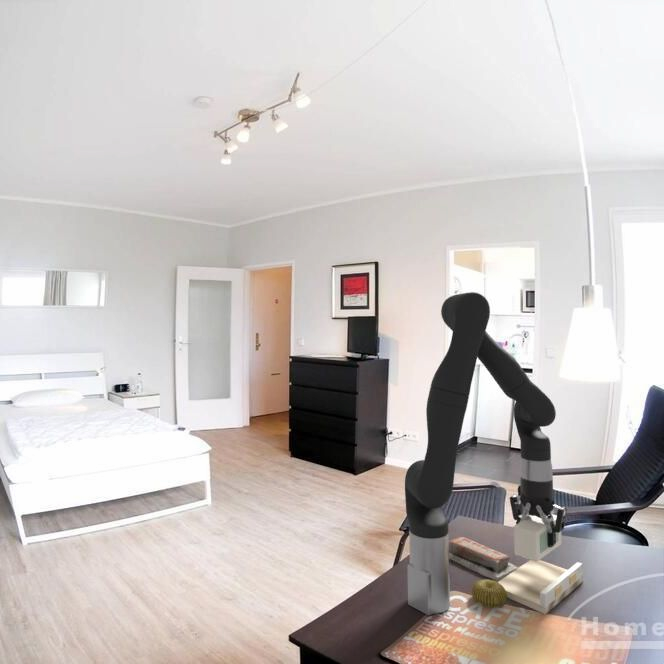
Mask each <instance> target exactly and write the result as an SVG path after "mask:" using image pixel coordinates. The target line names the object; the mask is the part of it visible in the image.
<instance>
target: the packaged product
mask: <svg viewBox="0 0 664 664" xmlns="http://www.w3.org/2000/svg"><path fill="white" fill-rule="evenodd" d="M450 559H451V560H450ZM510 559H511V557H510V556H509V555H507V554H505V553H502V552H500V551H497V550H494V549H492V548H490V547H488V546H485V545H483V544H481V543H479V542H477V541H474V540H472V539H469V538H467V537H463V536H458V537H456V538H454V539H452V540H449V560H450V561H452V560H453V561H452V562H454V561H455V563H456V562H457V564H458V563H459V565H460V564H461V566H462V565H463V567H464V566H465V568H466V569H469V570H471V571H473V572H475V573H477V572H478V573H477V574H479V573H480V574H479V575H481V574H482V576H483V577H487V578H488V579H489V580H493V581H496V582H499V581H500V580H502V579H503V578H505V577H506V576H508V575H509V574H510V573H512V572H513V571H515V570H516V569H518V568H519V567H520V566H518V565H516V564H515V565H514V564H513V563H510V562H509V561H510Z"/></svg>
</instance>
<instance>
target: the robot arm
mask: <svg viewBox="0 0 664 664" xmlns="http://www.w3.org/2000/svg"><path fill="white" fill-rule="evenodd" d="M440 314H441V315H440V316H441V319H442V321H443V322H444V324H445V325H446V326H447V327H448V328H449V329H450V330H451V331H452V334H451V340H450V344H449V347H448V349H447V352H446V354H445V355H444V357H443V359H442V361H441V362H440V364H439V366H438V367H437V369H436V371H435V373H434V375H433V377H432V379H431V384H430V387H429V392H428V396H427V397H428V398H427V402H426V408H425V409H426V411H425V412H426V426H427V427H426V428H427V448H426V452H425V456H424V459H422V460H421V459H420V460H417V461H414V462H413V463H412V464H411V465H410V466H409V467H408V469H407V471H406V473H405V479H404V495H405V498H404V500H405V512H406V517H407V522H408V530H409V531H408V535H409V536H408V537H409V563H408V564H407V566H406V567H407V568H406V569H407V570H406V571H407V572H406V573H407V604H408V606H410V607H412V608H414V609H416V610H417V611H420V612H421V613H423V614H425V615H426V616H430V615H433V614H440V613H441V614H442V613H445V612H446V611H447V610H448V609H449V608H450V607H451V602H450V601H451V596H450V595H451V593H450V591H451V589H450V559H449V541H450V540H449V538H450V537H449V520H448V518H447V516H446V514H445V511H444V508H443V506H444V505H445V504H446V503H448V502H449V499H450V497H451V495H452V492H453V488H454V480H455V471H456V463H457V453H458V448H459V444H460V438H461V434H462V430H463V425H464V421H465V415H466V413H467V409H468V408H467V407H468V402H469V399H470V395H471V394H470V393H471V388H472V387H471V386H472V382H473V378H474V374H475V370H476V369H475V368H476V365H477V360H479V361H480V362H481V364H482V365H483V366H484V367H485V369H486V370H487V371H488V373H489V375H491V377H492V378H493V379H494V381H495V382H496V384H497V385H498V387H499V388H500V389H501V391H502V392H503V394H505V396H506V397H507V398H509V399H512V400H514V401H515V403H514V405H513V406H514V407H513V417H514V418H513V419H514V422H515V426H516V430H517V434H518V437H519V440H520V443H519V444H520V461H519V462H520V463H519V464H520V465H519V466H520V467H519V476H520V492H521V493H520V494H521V495H518V494H513V495H512V496H510V497H509V502H510V508H511V513H512V518H513V520H515V521H517V522H518V523H520V522H521V521H523V520H526V519H527V518H528V517H529V518H530V517H531V516H537V517H539V518H541V519H542V521H543V523H544V524H545V525H546V528H547V531H548V532H547V541H548V547H550V548H551V547H553V546H554V545H555V544H556V532H557V533H559V532H560V531H561V532H562V531H563V530H564V529H565V525H566V518H567V511H568V509H567V507H566V506H559V505H557V504H556V502H555V501H554V477H553V472H554V471H553V464H552V447H551V446H552V445H551V440H550V438H549V436H547V435H546V434H545V433H544V432H543V431H542V429H541V427H548V426H551V425H552V424H553V423H554V421H555V419H556V416H557V415H556V414H557V412H556V411H557V410H556V408H555V405H554V403H553V402H552V400H551V399H550V398H549V396H547V394H546V393H545V392H544V391H542V390H541V388H539V387H538V385H536V384H535V383H533V381H531V380H530V378H529V376H528V374H526V372H525V371H524V369H523V367H522V366H521V365H520V364H519V362H518V361H517V359H515V357H513V355H512V354H510V352H508V351H507V350H506V349H505V348H504V347H503V346H502V345H500V344H499V343H498V342H497V341H496V340H495V339H494V338H493V337H492V336H491V335H490V334H489V333H488V332H487V326H488V325H489V320H490V314H491V307H490V303H489V301H488V299H487V297H486V296H484V295H483V294H482V293H480V292H478V291H477V292H476V291H475V292H473V291H471V292H464V293H458V294H454V295H451V296H449V297H448V298H446V299H445V300H444V302H443V303H442V305H441V310H440ZM521 504H522V506H523V507H524V509H523V511H522V508H521ZM552 511H554V513H555V514H554V515H557V518H556V524H555V523H554V518H553V515H552V514H553V513H552ZM546 516H547V517H546Z"/></svg>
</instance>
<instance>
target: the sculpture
mask: <svg viewBox="0 0 664 664" xmlns="http://www.w3.org/2000/svg"><path fill="white" fill-rule="evenodd" d="M498 582H499V581H495V580H493V579H490V578H488V579H486V578H482V579H479V580H476V581H475V582H474V584H472V587H471V595H472V597H473V598H474V601H476V602H477V604H479V605H481V606H483V607H486V608H499V607H502V606H503V605H505V603H506V601H507V599H508V598H507V593H506V590H505V588H504V587H503V586H502V585H501V584H500V583H498Z"/></svg>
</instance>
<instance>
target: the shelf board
mask: <svg viewBox="0 0 664 664" xmlns="http://www.w3.org/2000/svg"><path fill="white" fill-rule="evenodd" d="M518 567H519V568H518V569H516V570H515V571H513V572H512V573H510V574H509V575H508V576H506V577H505V578H503V579H502V580H500V581H497V582H498V583H500V584H501V585H502V586H503V587H504V588H505V590H506V593H507V599H509V600H512V601H514V602H517V603H519V604H522V605H524V606H526V607H528V608H530V609H533V610H535V611H537V612H538V613H542V614H543V615H547V614H548V613H549V612H550V611H551V610H552V609H553V608H555V607H556V606H557V605H558V604H559V603H560V602H561V601H563V599H565V598H566V597H567V596H568V595H570V593H572V591H573V592H574V590H575V589H576V588H577V587H579V585H581V584H582V583H583V582H584V575H583V576H582V577H581V578H579V579H578V580H577V581H576V582H575V583H574V584H572V585H571V586H570V587H569V588H568V589H567V590H565V591H564V592H563V593H562V594H561V595H560V596H558V597H557V598H556V599H555V600H554V601H553V602H551V603H550V604H549V605H548V606H547V607H546V608H545V607H543V606H540V592H541V591H542V590H543V589H545V588H546V587H547V586H548V585H550V584H551V583H552V582H553V581H555V580H556V579H557V578H558V577H560V576H561V575H562V574H563V573H565V572H566V571H567V570H568V569H566V568H563V567H560V566H558V565H556V564H552V563H551V562H550V563H549V562H547V561H544V560H541V559H540V560H539V561H537V562H535V561H532V560H529V559H528V560H527V561H526V562H525V563H523V564H522V565H521V566H518Z"/></svg>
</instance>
